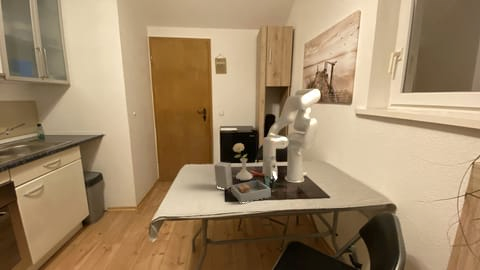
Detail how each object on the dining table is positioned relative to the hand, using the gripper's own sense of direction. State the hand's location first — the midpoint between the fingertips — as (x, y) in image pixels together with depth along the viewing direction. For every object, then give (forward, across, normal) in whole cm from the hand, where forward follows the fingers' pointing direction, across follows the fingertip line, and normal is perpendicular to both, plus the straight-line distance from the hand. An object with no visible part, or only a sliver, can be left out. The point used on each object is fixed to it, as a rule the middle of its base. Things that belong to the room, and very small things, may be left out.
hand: (269, 186), depth 128 cm
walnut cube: (0, -4, +19) cm, 19 cm away
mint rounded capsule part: (+1, 0, 0) cm, 1 cm away
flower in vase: (+1, +21, +8) cm, 23 cm away
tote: (+1, -4, +15) cm, 16 cm away
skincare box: (+1, +12, +25) cm, 28 cm away
